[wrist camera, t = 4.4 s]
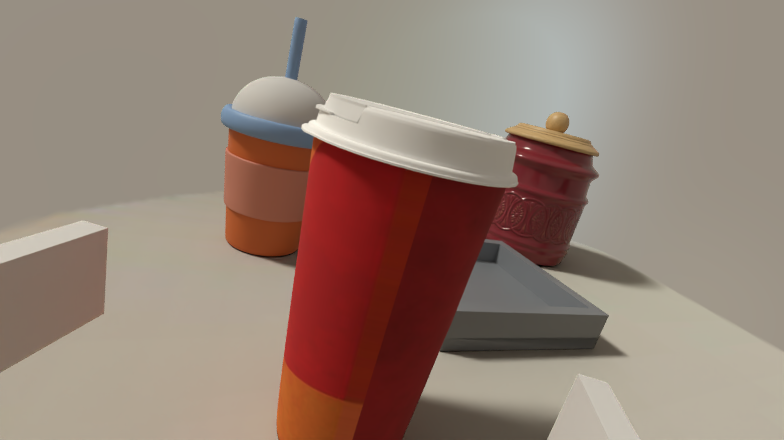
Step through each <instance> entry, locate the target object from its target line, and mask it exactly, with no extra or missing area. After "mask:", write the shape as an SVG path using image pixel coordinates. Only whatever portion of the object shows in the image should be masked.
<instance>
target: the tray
mask: <svg viewBox="0 0 784 440" xmlns="http://www.w3.org/2000/svg"><path fill="white" fill-rule="evenodd" d="M608 316H609V315H607V314H606V313H605V312H603V311H602V310H600V309H599V308H597V307H596V306H595V305H593V304H592V303H590V302H589V301H587V300H586V299H585V298H583V297H582V296H580V295H579V294H577V293H576V292H574V291H573V290H572V289H570V288H569V287H567V286H566V285H564V284H563V283H562V282H560V281H559V280H557V279H556V278H554V277H553V276H551V275H550V274H549V273H547V272H546V271H544V270H543V269H541V268H540V267H539V266H537V265H536V264H534V263H533V262H531V261H530V260H529V259H527V258H526V257H524V256H523V255H521V254H520V253H518V252H517V251H516V250H514V249H513V248H511V247H510V246H508V245H507V244H506V243H504V242H503V241H498V240H489V239H485V241H484V244H483V246H482V248H481V251H480V253H479V256H478V258H477V261H476V263H475V265H474V268H473V270H472V273H471V275H470V278H469V280H468V283H467V285H466V288H465V290H464V293H463V295H462V298H461V300H460V303H459V305H458V308H457V311H456V313H455V316H454V318H453V321H452V323H451V326H450V328H449V330H448V332H447V335H446V337H445V339H444V341H443V344H442V346H441V348H440V351H481V350H533V349H585V348H594V346H595V344H596V342H597V340H598V338H599V335H600V333H601V331H602V329H603V327H604V325H605V323H606V320H607V318H608Z"/></svg>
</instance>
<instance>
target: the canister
mask: <svg viewBox="0 0 784 440" xmlns="http://www.w3.org/2000/svg"><path fill="white" fill-rule="evenodd" d="M568 126H569V118H568V116H567V115H566V114H564V113H561V112H555V113H553V114H551V115H550V116H549V117H548V119H547V121H546V129H545V128H541V127H537V126H533V125H529V124H524V123H519V124H518V125H516V126H514V127H510V128H507V129H506V130H505V131H506V132H508V133H509V135H508V136H507V137H506V139H507V140H508V141H512V142H515V145H516V155H515V160H514V165H513V170H512V172H513V173H514V174H516V175H517V178H518V185H517V186H516V187H511V188H506V190H505V192H504V195H503V197H502V200H501V202H500V205H499V207H498V209H497V212H496V214H495V217H494V219H493V222H492V224H491V227H490V229H489V231H488V234H487V236H486V239H489V240H498V241H503V242H504V243H506V244H507V245H508V246H510V247H511V248H513V249H514V250H516V251H517V252H518V253H520V254H521V255H523V256H524V257H526V258H527V259H529V260H530V261H531V262H533V263H534V264H536V265H543V266H554V265H558V264H560V263H561V261H562V259H563V258H564V257H565V256H566V254H567V250H568V249H569V247H570V241H571V238H572V236H573V233H574V230H575V228H576V226H577V223H578V221H579V219H580V216H581V214H582V211H583V209H584V206H585V205H586V204H588V200H587V198H586V195H587V191H588V188H589V186H590V183H591V182H592V181H593V180H595V179H596V178H598V177H599V174H598V173H597V171H596V170H595V169H594V168H593V156H599V153H598V152H597V151H596V150H595V148H593V146H592V145H591V142H590V141H589V140H586V139H582V138H579V137H575V136H571V135H568V134H564V132H565V131H566V130H567V128H568Z"/></svg>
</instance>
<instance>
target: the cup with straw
mask: <svg viewBox="0 0 784 440" xmlns="http://www.w3.org/2000/svg"><path fill="white" fill-rule="evenodd" d="M306 26H307V20H304V19H301V18H297V17H296V18H295V22H294V28H293V34H292V40H291V46H290V52H289V58H288V64H287V70H286V76H285V77H279V76H275V77H274V76H271V77H264V78H260V79H257V80H255V81H253V82H251V83H249V84H248V85H246V86H245V87H244V88H243V89H242V90H241V91H240V92H239V93H238V94H237V96H236V98H235V100H234V102H233V104H227V105H225V106H224V108H223V109H222V112H221V121H222V123H223V124H224V125H225V126H226V127H228V128H229V140H228V141H229V142H228V147H226V152H225V154H226V155H225V183H224V203H225V204H226V230H225V236H226V240H227V241H228V243H229V244H230V245H232V246H233V247H235V248H237V249H239V250H241V251H243V252H247V253H250V254H254V255H260V256H283V255H288V254H291V253H293V252H295V251H296V250H297V249H298V247H299V240H300V233H301V225H302V218H303V211H304V203H305V196H306V189H307V181H308V174H309V167H310V159H311V152H312V145H313V137H314V136H312V135H310V134H308V133H306V132H304V131H303V130H302V129H301V127H302V124H304V123H309V121H311V120H317V117H318V114H319V111H320V110H319V109H317V108H316V105H317V104H322V105H325V103H326V102H325V100H324V99H323V98H322V97H321V95H320V94H319V93H318V92H316V91H315V90H314V89H313V88H311V87H310V86H308V85H306V84H304V83H302V82H300V81H298V80H297V77H298V71H299V66H300V60H301V54H302V49H303V43H304V38H305V32H306Z"/></svg>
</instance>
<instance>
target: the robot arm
mask: <svg viewBox="0 0 784 440" xmlns="http://www.w3.org/2000/svg"><path fill="white" fill-rule="evenodd" d="M107 239H108V228H106V227H103V226H100V225H97V224H94V223H90V222H87V221H84V220H83V221H79V222H76V223H72V224H69V225H65V226H62V227H58V228H55V229H51V230H48V231H44V232H41V233H37V234H34V235H30V236H27V237H24V238H20V239H17V240H13V241H10V242H6V243H3V244H0V372H2V371H4V370H6V369H7V368H9V367H11V366H13V365H14V364H16V363H18V362H20V361H21V360H23V359H25V358H27V357H28V356H30V355H32V354H34V353H35V352H37V351H39V350H41V349H42V348H44V347H46V346H48V345H49V344H51V343H53V342H55V341H56V340H58V339H60V338H62V337H63V336H65V335H67V334H69V333H70V332H72V331H74V330H76V329H77V328H79V327H81V326H83V325H85V324H86V323H88V322H90V321H92V320H93V319H95V318H97V317H99V316H100V315H102V314H104V302H105V281H106V260H107ZM547 440H640V438H639V436H638V435H637V433H636V431H635V429H634V428H633V426H632V424H631V422H630V421H629V419H628V417H627V415H626V413H625V412H624V410H623V408H622V406H621V405H620V403H619V401H618V399H617V398H616V396H615V394H614V392H613V391H612V389H611V387H610V385H609V384H608V383H607V382H604V381H601V380H597V379H594V378H591V377H588V376H585V375H581V374H577V376H576V378H575V380H574V383H573V385H572V387H571V389H570V391H569V393H568V396H567V398H566V400H565V402H564V404H563V406H562V408H561V411H560V413H559V415H558V417H557V419H556V421H555V424H554V426H553V428H552V430H551V432H550V434H549V436H548V439H547Z"/></svg>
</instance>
